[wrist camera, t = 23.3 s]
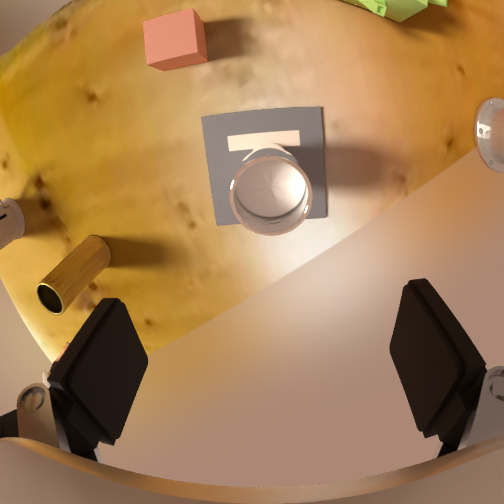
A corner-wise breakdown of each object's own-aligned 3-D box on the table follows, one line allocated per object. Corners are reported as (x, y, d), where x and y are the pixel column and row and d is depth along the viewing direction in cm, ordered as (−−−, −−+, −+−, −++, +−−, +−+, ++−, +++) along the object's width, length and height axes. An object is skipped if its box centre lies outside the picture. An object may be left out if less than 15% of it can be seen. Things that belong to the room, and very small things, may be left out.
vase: (91, 270, 45) (47, 319, 32) (77, 239, 42) (27, 282, 29) (117, 264, 44) (73, 317, 31) (103, 231, 41) (51, 276, 29)
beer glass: (305, 177, 36) (329, 215, 23) (258, 201, 38) (254, 251, 24) (280, 130, 33) (289, 137, 20) (232, 156, 35) (210, 180, 22)
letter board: (320, 106, 32) (320, 106, 32) (325, 216, 39) (325, 217, 38) (202, 117, 33) (201, 117, 33) (217, 224, 40) (216, 225, 40)
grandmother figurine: (74, 359, 57) (53, 396, 46) (62, 351, 56) (39, 386, 45) (78, 343, 54) (53, 382, 43) (65, 334, 53) (39, 372, 42)
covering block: (203, 23, 28) (192, 8, 22) (208, 61, 30) (197, 52, 25) (160, 33, 28) (143, 22, 23) (164, 71, 31) (146, 64, 25)
